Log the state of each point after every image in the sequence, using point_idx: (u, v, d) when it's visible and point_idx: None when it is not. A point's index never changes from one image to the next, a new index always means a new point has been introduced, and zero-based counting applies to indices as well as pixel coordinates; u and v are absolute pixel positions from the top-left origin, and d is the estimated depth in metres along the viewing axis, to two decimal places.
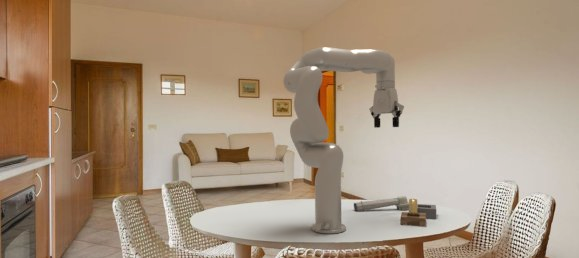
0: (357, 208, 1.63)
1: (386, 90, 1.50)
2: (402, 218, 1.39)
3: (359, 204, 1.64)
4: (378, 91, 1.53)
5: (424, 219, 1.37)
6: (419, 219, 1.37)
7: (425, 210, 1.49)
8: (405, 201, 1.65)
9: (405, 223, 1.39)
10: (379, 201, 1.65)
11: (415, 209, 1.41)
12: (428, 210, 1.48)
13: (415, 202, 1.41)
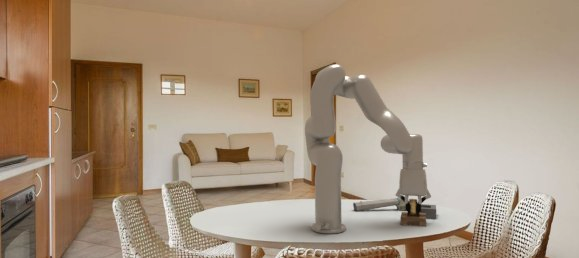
0: (356, 208, 1.63)
1: None
2: (402, 218, 1.39)
3: (358, 204, 1.64)
4: None
5: (424, 219, 1.37)
6: (419, 219, 1.37)
7: (425, 210, 1.49)
8: None
9: (405, 223, 1.39)
10: (379, 201, 1.64)
11: (415, 209, 1.41)
12: (428, 210, 1.48)
13: (415, 202, 1.41)
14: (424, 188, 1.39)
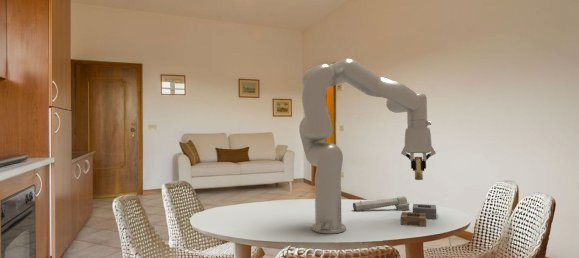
0: (356, 208, 1.63)
1: None
2: (402, 218, 1.39)
3: (358, 204, 1.64)
4: None
5: (424, 219, 1.37)
6: (419, 219, 1.37)
7: (425, 210, 1.49)
8: (405, 201, 1.64)
9: (405, 223, 1.39)
10: (378, 201, 1.64)
11: (420, 166, 1.46)
12: (428, 210, 1.48)
13: (420, 159, 1.46)
14: (429, 145, 1.44)
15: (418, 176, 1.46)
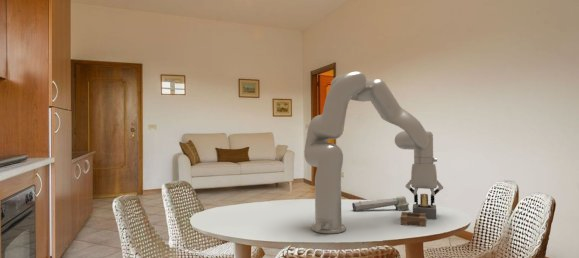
0: (355, 208, 1.63)
1: None
2: (402, 218, 1.39)
3: (357, 204, 1.64)
4: None
5: (424, 219, 1.37)
6: (419, 219, 1.37)
7: (425, 210, 1.49)
8: (404, 201, 1.64)
9: (405, 223, 1.39)
10: (378, 201, 1.64)
11: (426, 203, 1.52)
12: (428, 210, 1.48)
13: (426, 197, 1.52)
14: (434, 181, 1.50)
15: None
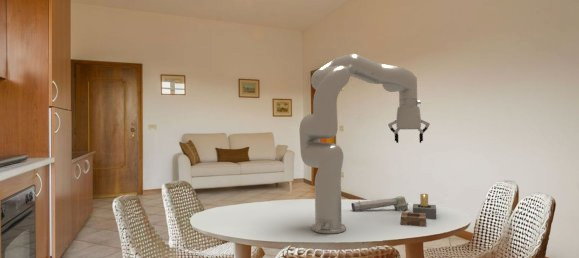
0: (354, 208, 1.63)
1: None
2: (402, 218, 1.39)
3: (356, 204, 1.64)
4: None
5: (424, 219, 1.37)
6: (419, 219, 1.37)
7: (425, 210, 1.49)
8: (403, 201, 1.64)
9: (405, 223, 1.39)
10: (377, 201, 1.64)
11: (426, 203, 1.52)
12: (428, 210, 1.48)
13: (426, 197, 1.52)
14: (418, 122, 1.58)
15: None
